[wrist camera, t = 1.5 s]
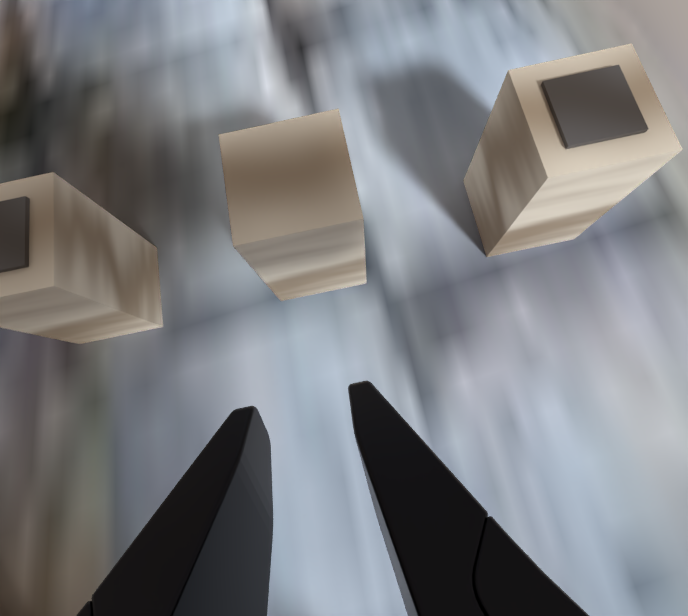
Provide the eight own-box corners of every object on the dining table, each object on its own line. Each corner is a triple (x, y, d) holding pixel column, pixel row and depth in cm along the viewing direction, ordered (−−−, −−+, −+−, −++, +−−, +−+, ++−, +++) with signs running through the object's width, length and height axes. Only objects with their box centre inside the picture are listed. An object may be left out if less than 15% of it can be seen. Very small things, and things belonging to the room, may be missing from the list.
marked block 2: (163, 326, 23) (49, 284, 15) (79, 344, 23) (-79, 311, 15) (156, 244, 24) (49, 165, 16) (77, 261, 24) (-68, 190, 16)
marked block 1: (573, 239, 22) (686, 146, 14) (486, 256, 22) (550, 174, 14) (544, 160, 23) (632, 35, 16) (462, 177, 24) (508, 61, 16)
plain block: (366, 283, 22) (363, 218, 15) (281, 301, 22) (233, 246, 15) (349, 205, 24) (338, 108, 16) (268, 223, 24) (218, 134, 16)
